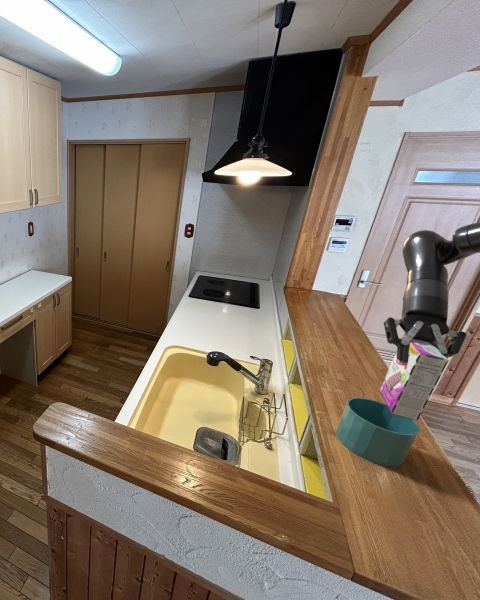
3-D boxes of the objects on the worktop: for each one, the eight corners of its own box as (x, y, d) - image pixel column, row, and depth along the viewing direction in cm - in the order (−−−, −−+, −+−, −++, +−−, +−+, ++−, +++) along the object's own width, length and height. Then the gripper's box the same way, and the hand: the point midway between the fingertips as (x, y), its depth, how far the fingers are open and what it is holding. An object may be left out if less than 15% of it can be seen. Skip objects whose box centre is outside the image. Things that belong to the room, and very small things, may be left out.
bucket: (388, 435, 92) (402, 406, 88) (415, 474, 79) (433, 442, 76) (328, 420, 97) (339, 392, 93) (345, 454, 84) (358, 423, 81)
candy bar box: (377, 390, 85) (402, 334, 79) (402, 396, 82) (430, 339, 77) (389, 414, 75) (419, 352, 70) (418, 422, 73) (451, 359, 67)
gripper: (393, 288, 79) (386, 350, 73) (477, 301, 72) (476, 371, 67) (380, 302, 85) (372, 360, 80) (456, 316, 78) (453, 381, 73)
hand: (419, 365), depth 73 cm, fingers closed on candy bar box, 5 cm apart
